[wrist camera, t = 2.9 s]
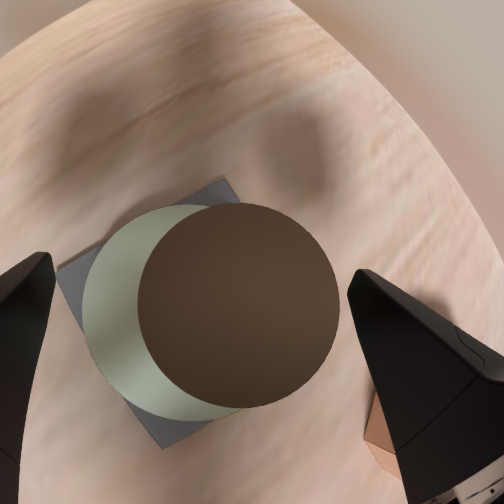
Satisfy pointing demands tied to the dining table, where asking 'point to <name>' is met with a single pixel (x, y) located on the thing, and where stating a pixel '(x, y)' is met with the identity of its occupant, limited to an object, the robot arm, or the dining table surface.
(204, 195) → the mat
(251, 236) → the wooden peg on disc
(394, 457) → the bowl
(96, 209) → the dining table surface
